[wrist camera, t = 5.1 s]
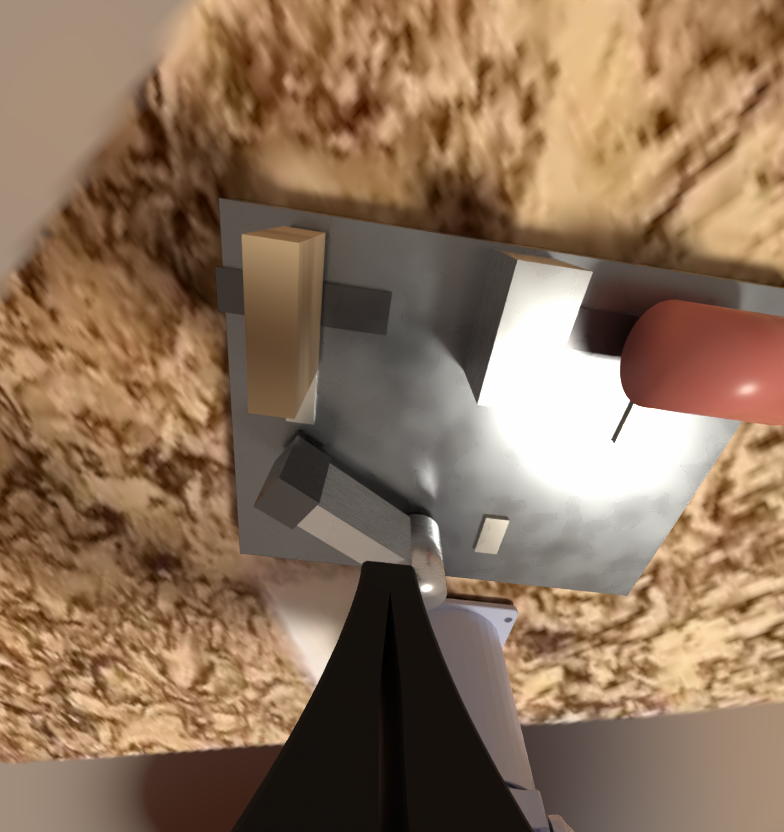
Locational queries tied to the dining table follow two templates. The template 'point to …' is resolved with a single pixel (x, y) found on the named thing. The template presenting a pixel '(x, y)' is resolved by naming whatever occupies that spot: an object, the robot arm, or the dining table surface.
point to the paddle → (281, 316)
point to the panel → (471, 442)
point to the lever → (351, 517)
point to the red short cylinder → (706, 362)
